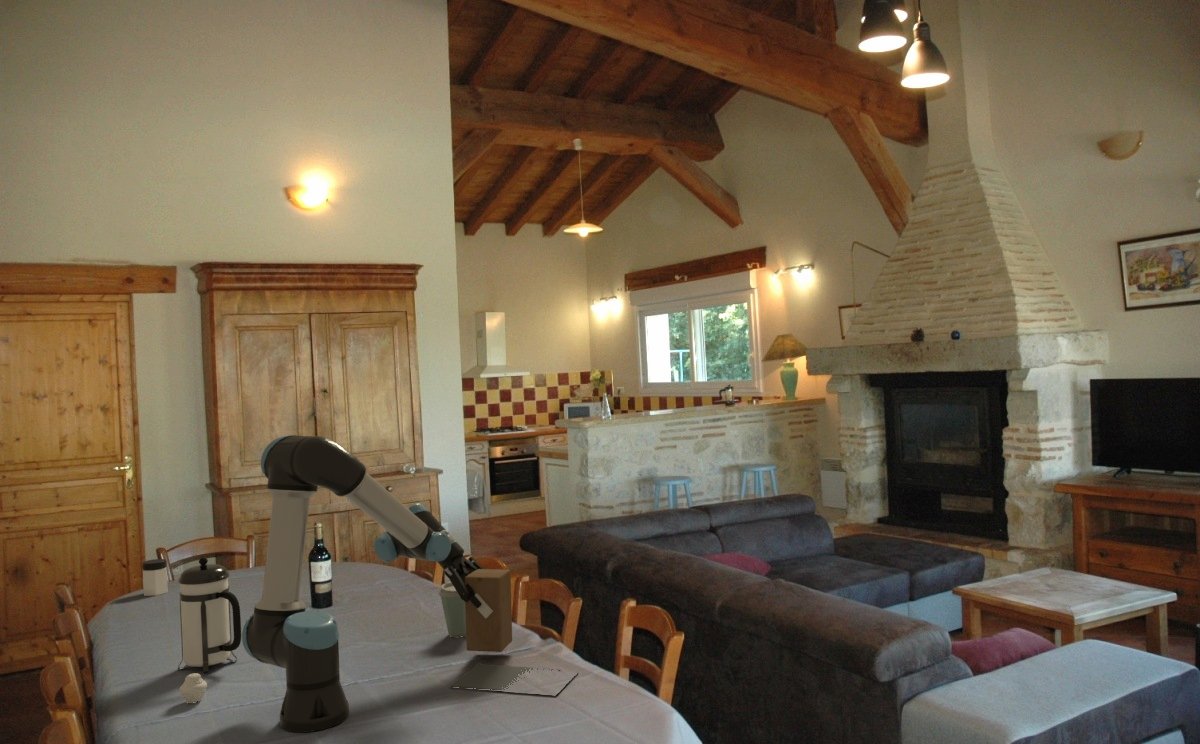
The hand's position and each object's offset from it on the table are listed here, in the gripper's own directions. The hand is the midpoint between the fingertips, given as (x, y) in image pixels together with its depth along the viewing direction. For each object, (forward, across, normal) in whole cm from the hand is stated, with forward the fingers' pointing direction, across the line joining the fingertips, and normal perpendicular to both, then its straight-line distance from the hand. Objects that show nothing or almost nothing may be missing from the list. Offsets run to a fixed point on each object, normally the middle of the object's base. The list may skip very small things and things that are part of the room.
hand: (498, 609), depth 239 cm
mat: (+17, -16, +1) cm, 23 cm away
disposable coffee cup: (-5, +16, +24) cm, 29 cm away
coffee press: (-44, -22, +64) cm, 81 cm away
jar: (-103, +42, +123) cm, 166 cm away
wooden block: (+5, 0, +9) cm, 11 cm away
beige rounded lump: (-33, -44, +54) cm, 77 cm away
